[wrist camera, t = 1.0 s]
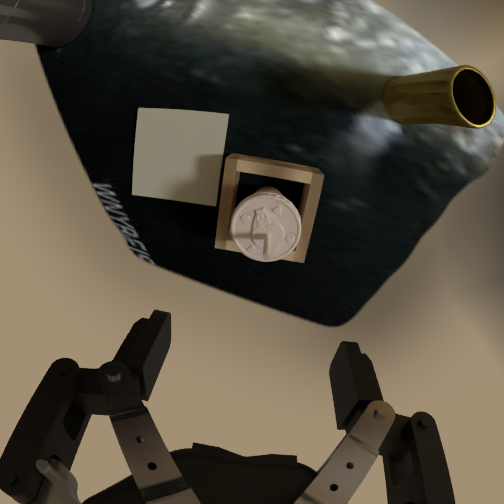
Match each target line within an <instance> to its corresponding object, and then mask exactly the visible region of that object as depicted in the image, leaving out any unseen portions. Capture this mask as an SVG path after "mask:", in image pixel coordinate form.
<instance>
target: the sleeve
mask: <svg viewBox="0 0 504 504" xmlns="http://www.w3.org/2000/svg"><path fill="white" fill-rule="evenodd" d="M240 172H246V173H252V174H258V175H264V176H270V177H275V178H281V179H286V180H292V181H297V182H302V183H304V188H303V193H302V198H301V202H300V207H299V212H298V213H299V215H300V218H301V236H300V240H299V242H298V244H297V246H296V247H295V248H294V250H293V251H292V252H291V253H289V254H288V255H287V256H285V257H283V258H281V259H283V260H289V261H295V262H301V263H304V259H305V255H306V252H307V248H308V244H309V239H310V235H311V231H312V227H313V223H314V219H315V214H316V210H317V206H318V201H319V197H320V193H321V188H322V184H323V179H324V174H323V173H322V172H321V171H320V170H319V169H318V168H313V167H309V166H304V165H299V164H293V163H288V162H283V161H277V160H272V159H266V158H260V157H253V156H247V155H241V154H234V153H232V154H230V155H229V156H228V157H226V161H225V168H224V176H223V183H222V191H221V199H220V207H219V215H218V223H217V232H216V241H215V248H219V249H225V250H231V251H236V252H241V251H240V250H239V249H238V248H237V247H236V245H235V243H234V242H233V239H232V236H231V230H230V226H231V218H232V215H233V213H234V208H235V201H236V194H237V188H238V181H239V174H240Z"/></svg>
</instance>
